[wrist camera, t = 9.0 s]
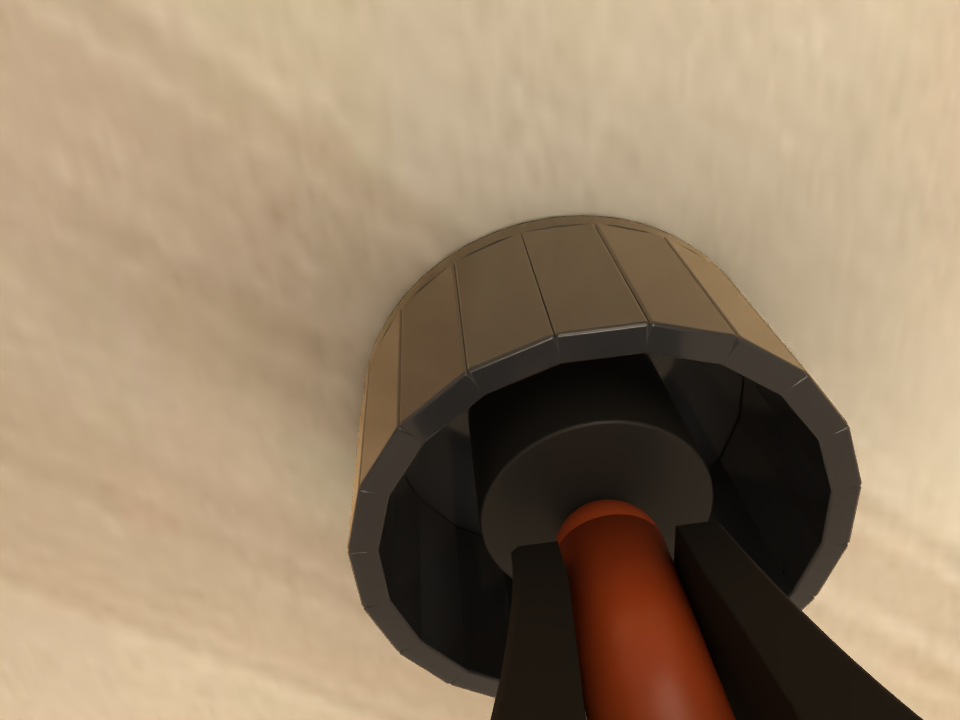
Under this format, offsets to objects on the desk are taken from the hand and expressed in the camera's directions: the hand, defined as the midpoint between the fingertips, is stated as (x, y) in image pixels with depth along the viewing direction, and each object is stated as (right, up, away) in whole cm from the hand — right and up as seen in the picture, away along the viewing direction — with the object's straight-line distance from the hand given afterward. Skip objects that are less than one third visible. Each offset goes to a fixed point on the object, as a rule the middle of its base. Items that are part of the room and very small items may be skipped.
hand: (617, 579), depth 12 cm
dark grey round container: (0, +2, +4) cm, 5 cm away
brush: (0, +2, +4) cm, 4 cm away
